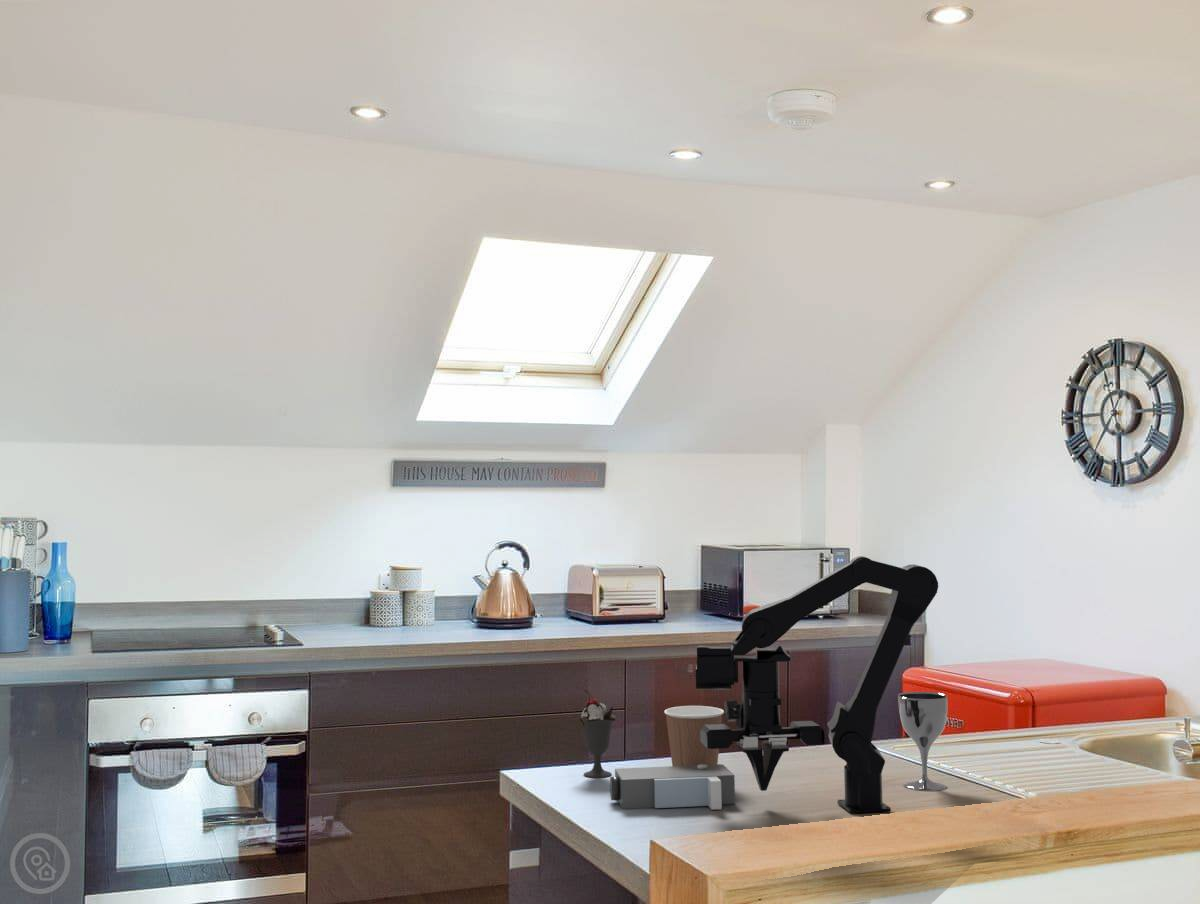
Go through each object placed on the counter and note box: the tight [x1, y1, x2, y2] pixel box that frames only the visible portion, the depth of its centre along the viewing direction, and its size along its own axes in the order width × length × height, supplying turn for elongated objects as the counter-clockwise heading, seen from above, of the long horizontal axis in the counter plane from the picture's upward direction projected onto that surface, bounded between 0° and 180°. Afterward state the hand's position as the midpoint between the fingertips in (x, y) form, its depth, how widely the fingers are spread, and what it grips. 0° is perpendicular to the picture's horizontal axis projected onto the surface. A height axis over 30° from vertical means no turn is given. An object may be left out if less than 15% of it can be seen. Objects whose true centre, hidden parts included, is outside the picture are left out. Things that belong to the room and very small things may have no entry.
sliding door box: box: [609, 763, 736, 810], centre depth 186 cm, size 8×19×5 cm, turn 97°
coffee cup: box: [664, 705, 724, 766], centre depth 200 cm, size 10×10×12 cm
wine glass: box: [897, 691, 948, 792], centre depth 194 cm, size 8×8×15 cm
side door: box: [654, 776, 723, 810], centre depth 180 cm, size 3×10×4 cm, turn 97°
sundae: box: [578, 688, 616, 779], centre depth 205 cm, size 7×7×15 cm
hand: (763, 790), depth 182 cm, fingers closed
